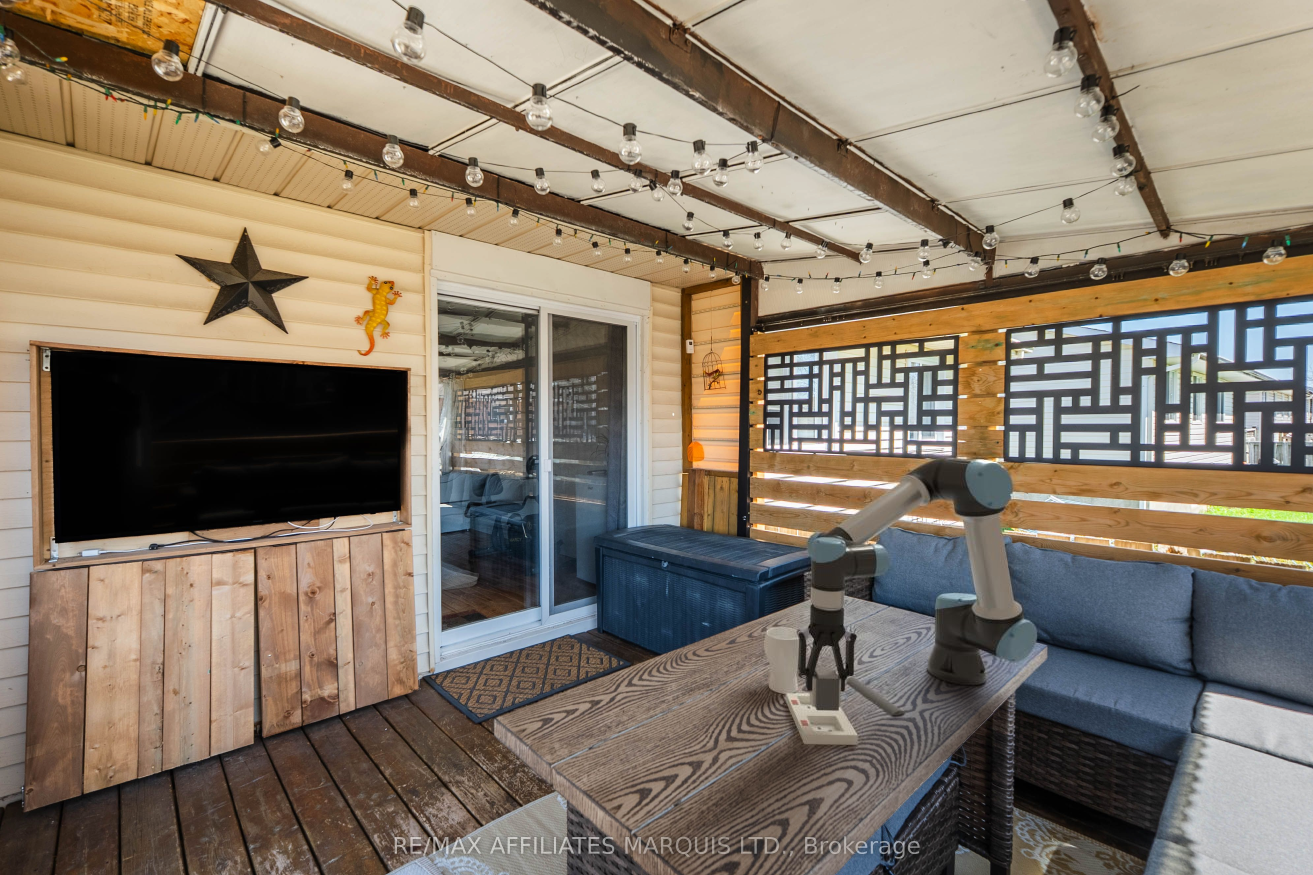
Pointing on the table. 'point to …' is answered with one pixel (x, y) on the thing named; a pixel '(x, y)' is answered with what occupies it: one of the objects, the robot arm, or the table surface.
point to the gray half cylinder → (874, 697)
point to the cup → (782, 658)
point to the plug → (827, 689)
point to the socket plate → (820, 722)
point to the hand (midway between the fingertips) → (824, 703)
